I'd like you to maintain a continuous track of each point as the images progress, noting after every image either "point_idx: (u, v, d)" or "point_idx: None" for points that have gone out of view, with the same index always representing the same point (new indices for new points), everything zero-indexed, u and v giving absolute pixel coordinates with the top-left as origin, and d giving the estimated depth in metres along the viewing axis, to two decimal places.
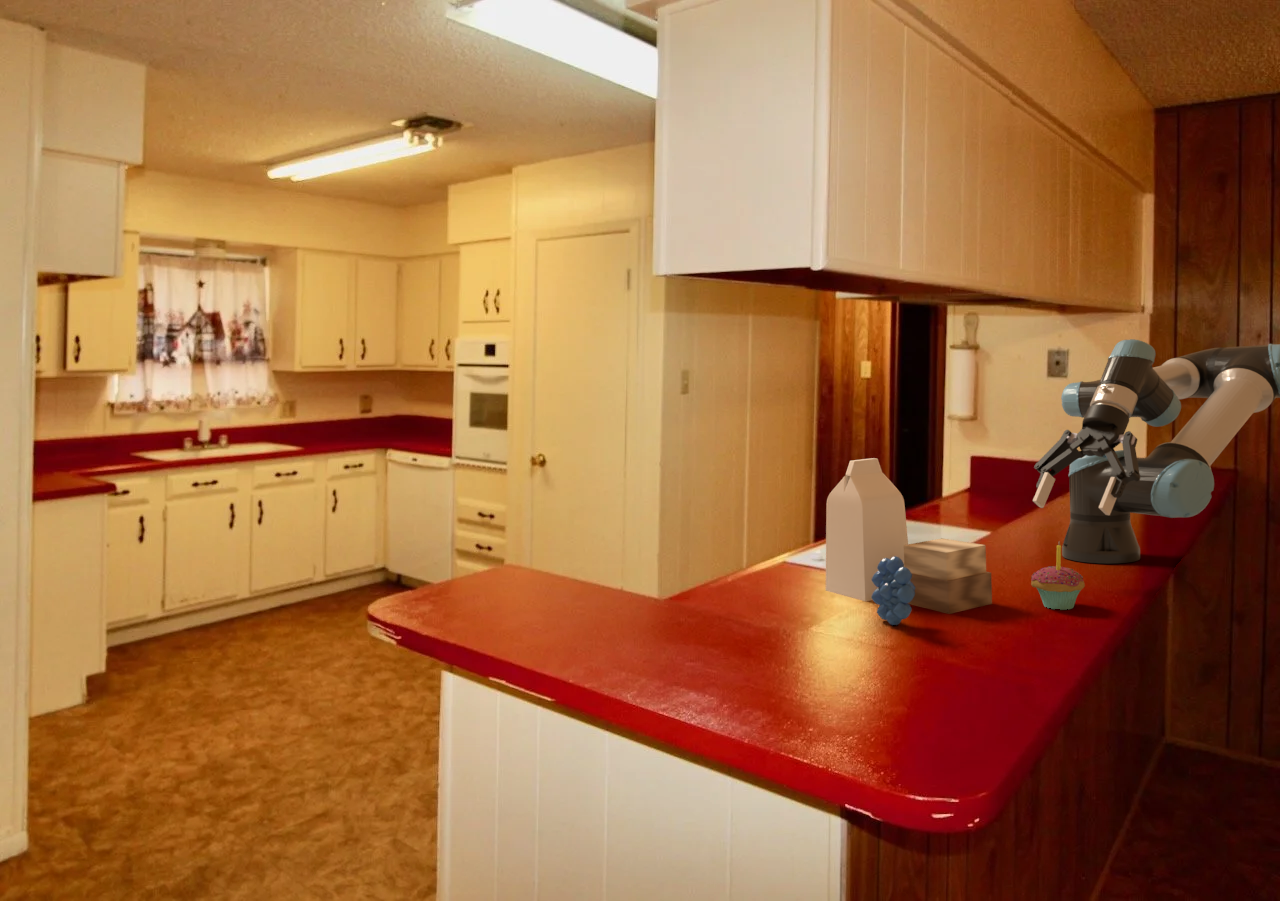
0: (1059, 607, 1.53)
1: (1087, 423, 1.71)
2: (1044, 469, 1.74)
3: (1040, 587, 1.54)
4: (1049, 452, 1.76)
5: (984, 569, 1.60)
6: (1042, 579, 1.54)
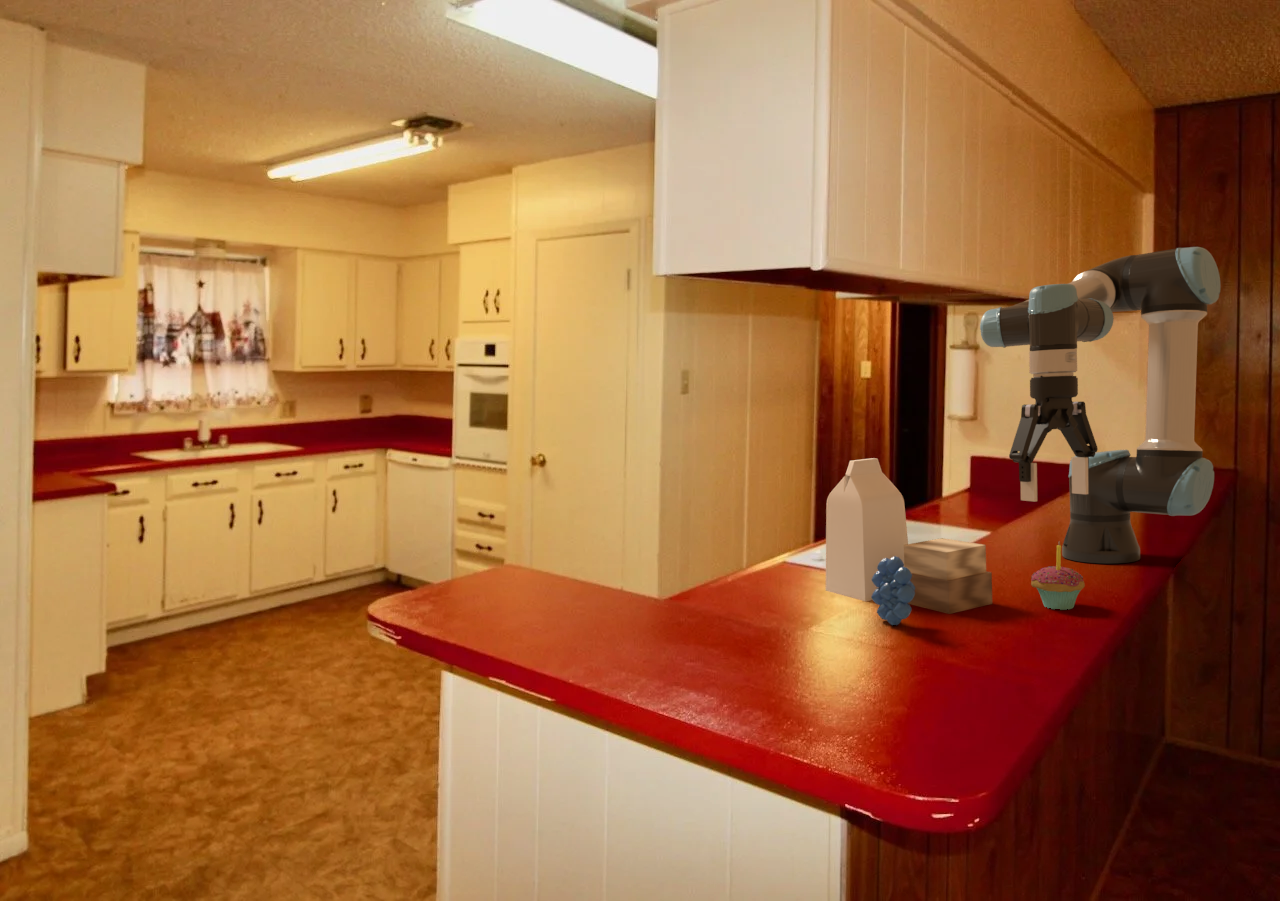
0: (1059, 607, 1.53)
1: (1058, 398, 1.51)
2: (1032, 459, 1.50)
3: (1040, 587, 1.54)
4: (1029, 436, 1.49)
5: (984, 569, 1.60)
6: (1042, 579, 1.54)
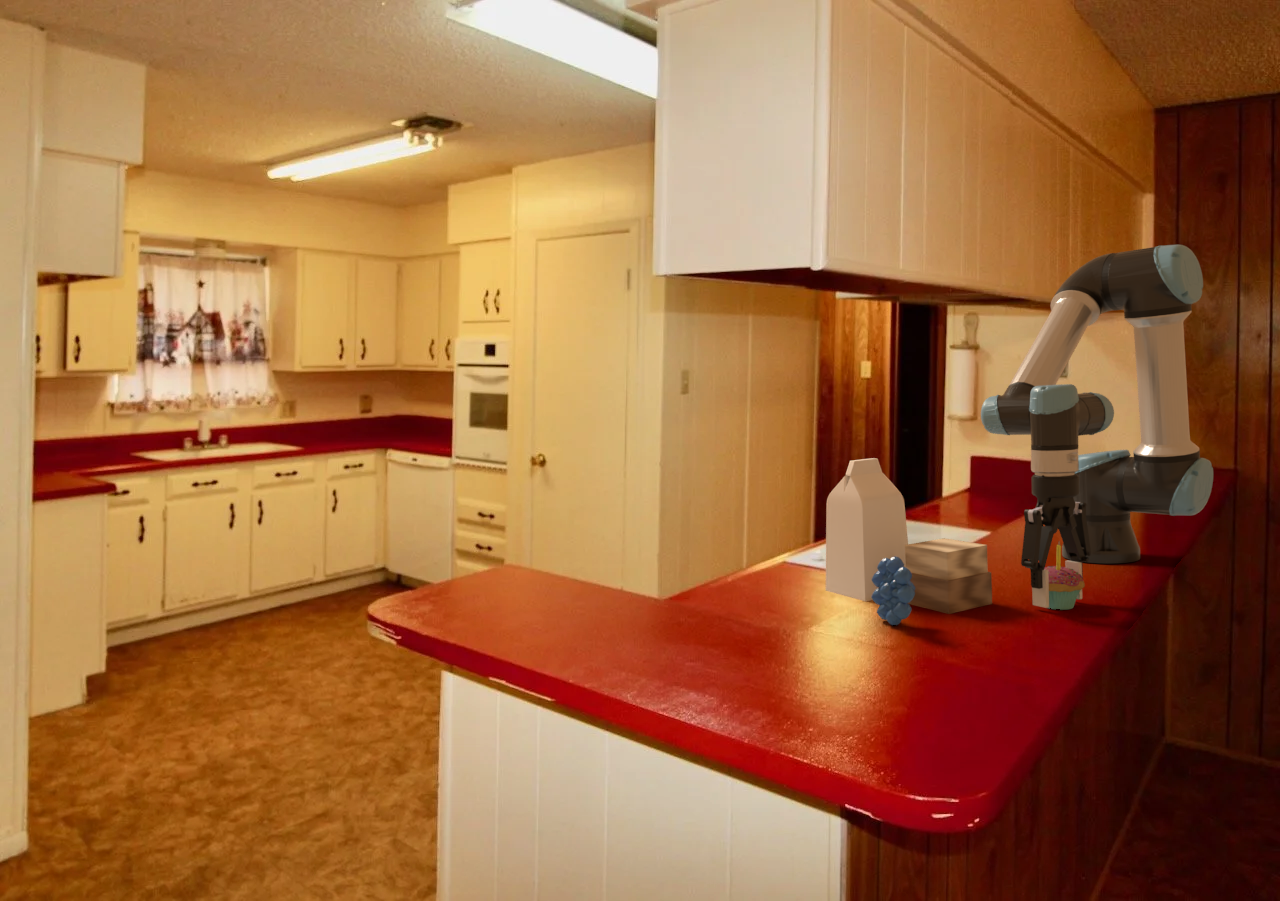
0: (1059, 607, 1.53)
1: (1060, 497, 1.52)
2: (1043, 566, 1.52)
3: None
4: (1037, 544, 1.51)
5: (985, 569, 1.59)
6: None
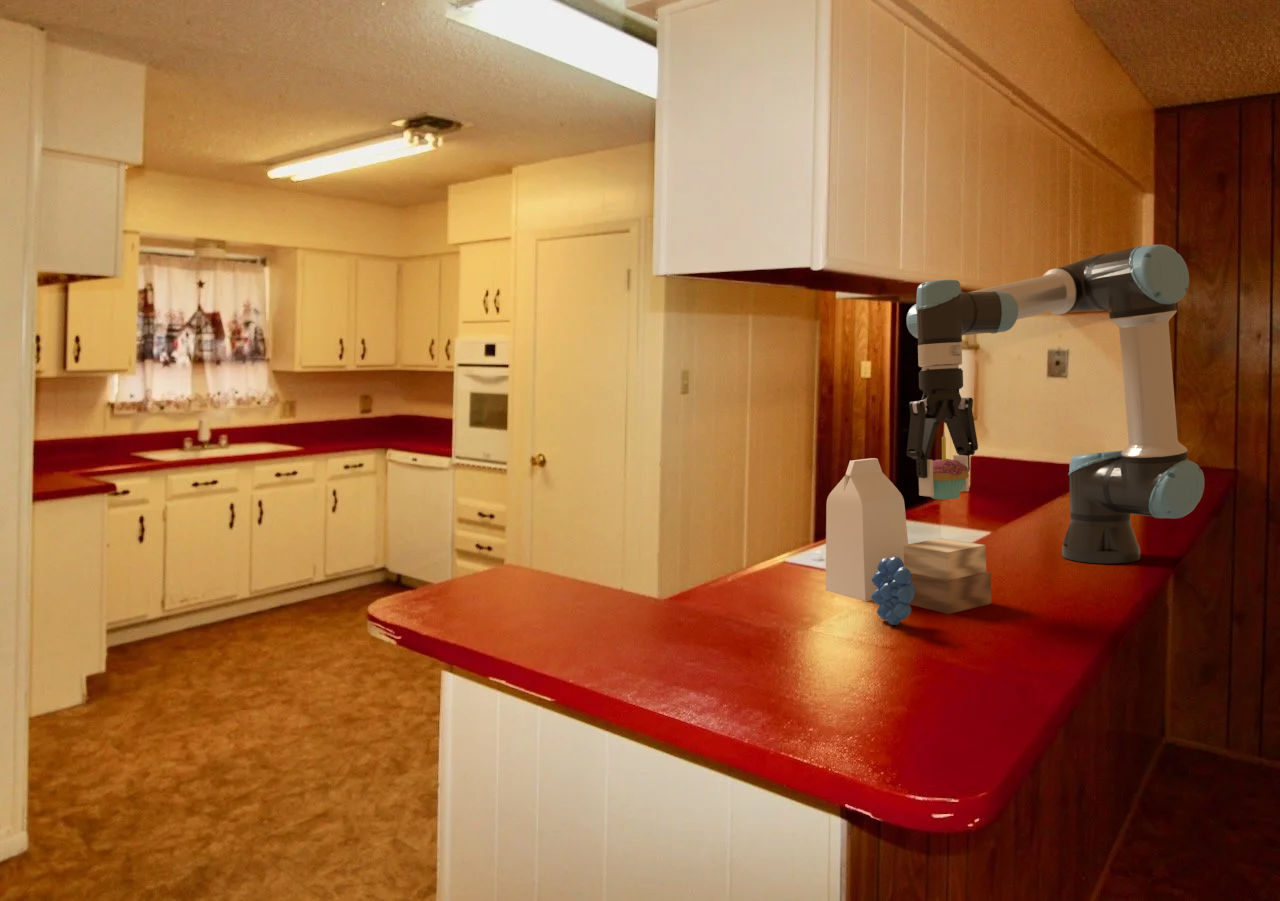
0: (944, 497, 1.58)
1: (943, 389, 1.57)
2: (927, 456, 1.57)
3: None
4: (920, 433, 1.56)
5: (984, 569, 1.60)
6: None
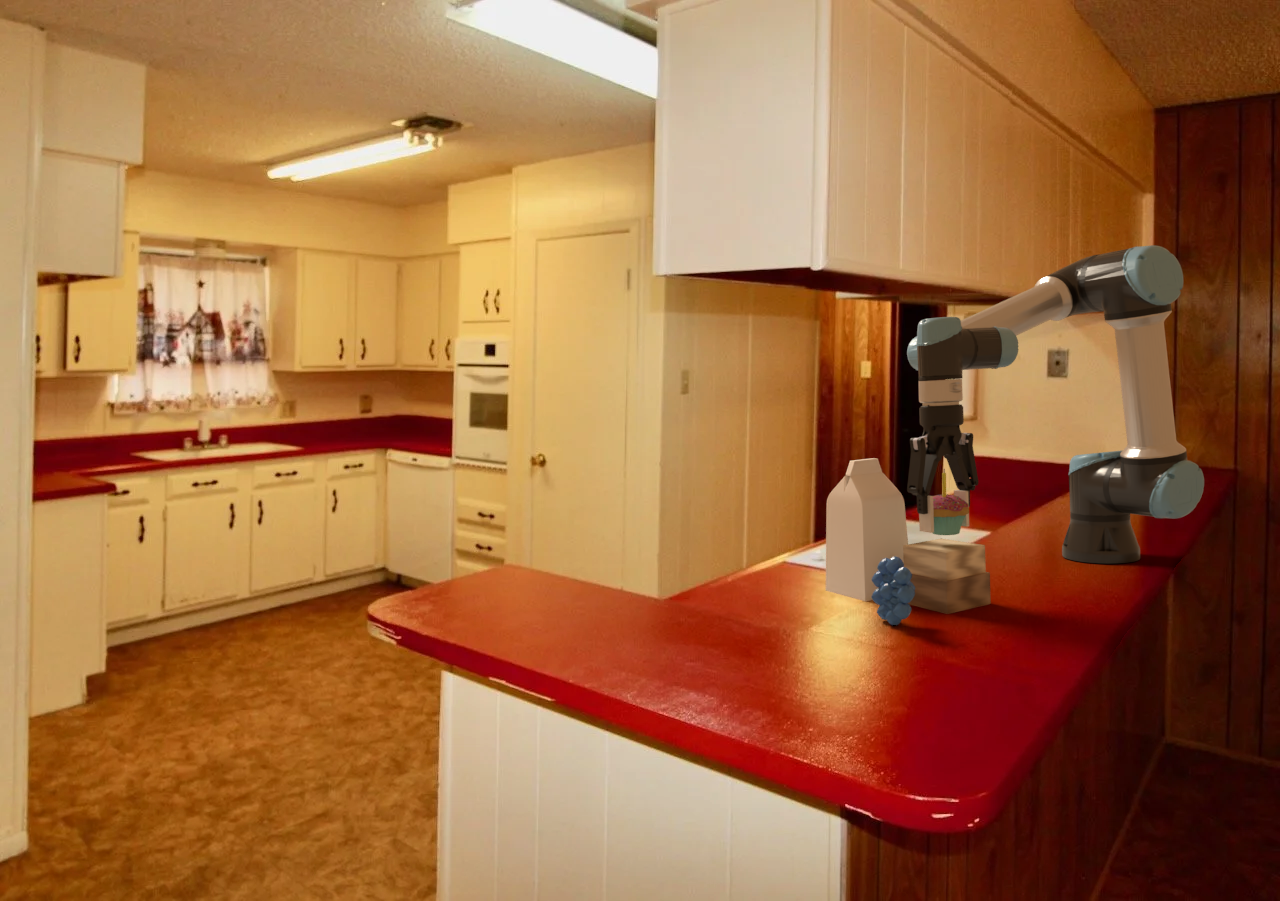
0: (944, 532, 1.59)
1: (944, 426, 1.57)
2: (928, 492, 1.57)
3: None
4: (921, 470, 1.56)
5: (983, 569, 1.60)
6: None
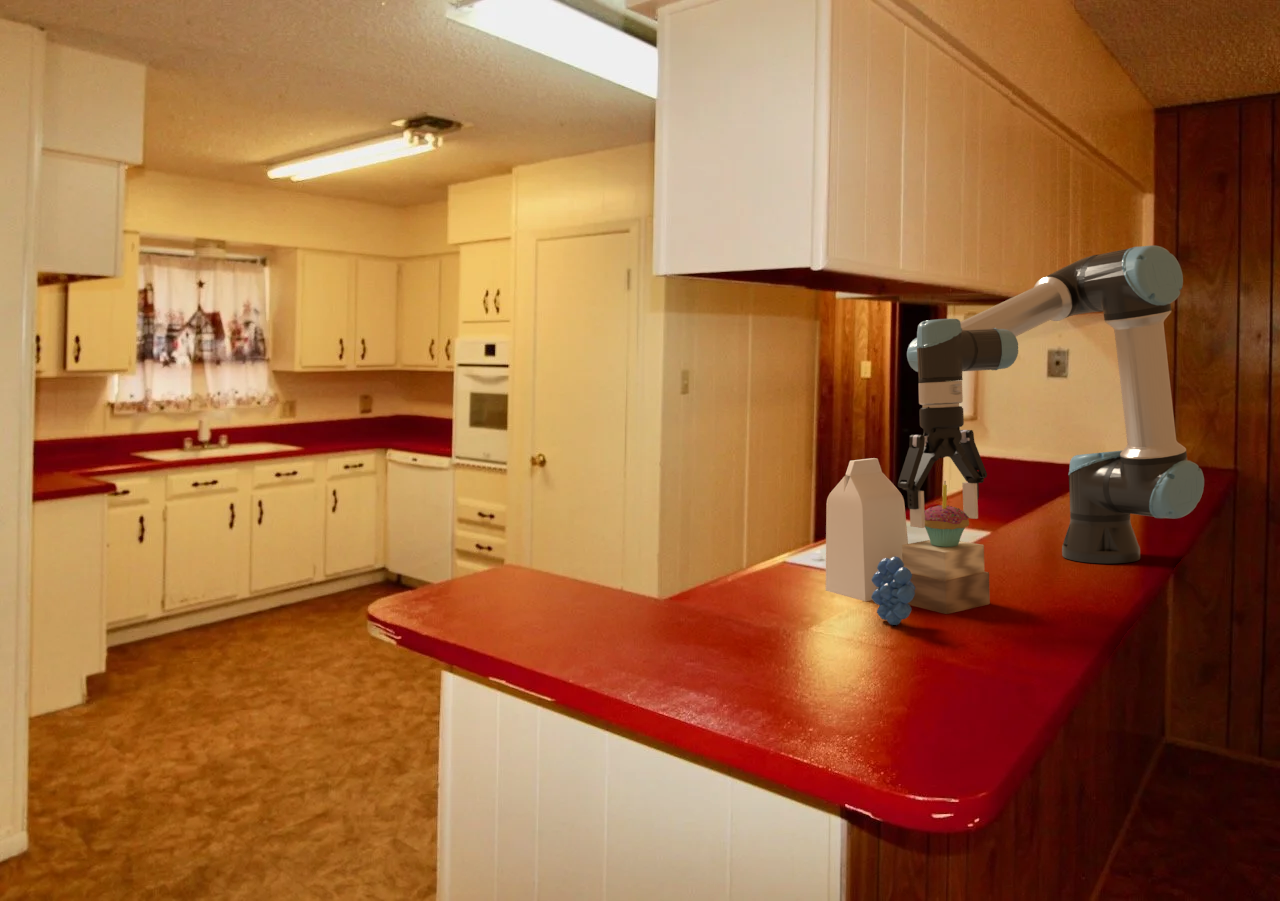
0: (942, 544, 1.59)
1: (944, 428, 1.57)
2: (918, 488, 1.56)
3: (925, 524, 1.60)
4: (915, 466, 1.56)
5: (982, 568, 1.60)
6: (927, 516, 1.59)
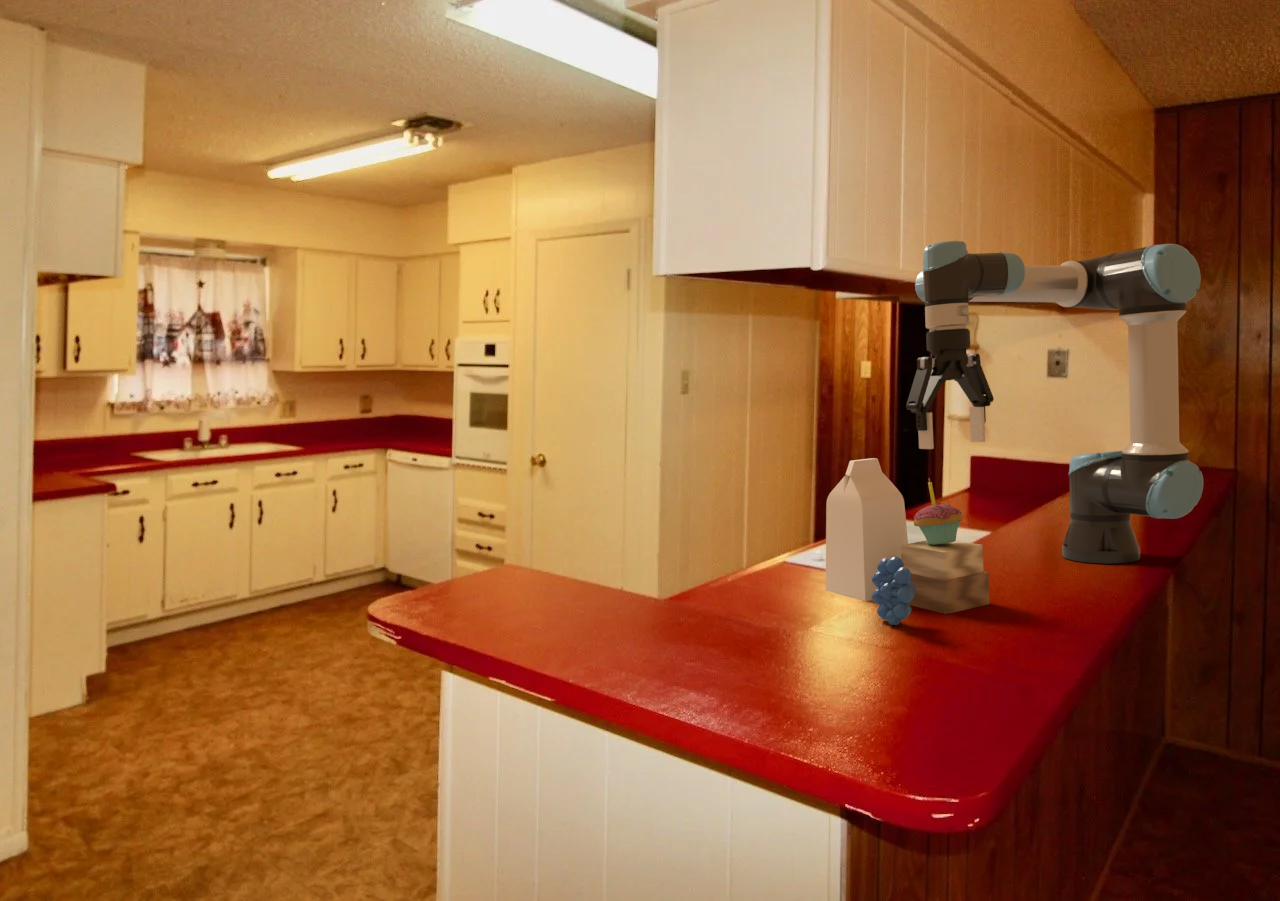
0: (937, 541, 1.59)
1: (951, 350, 1.59)
2: (927, 409, 1.57)
3: (917, 524, 1.61)
4: (923, 387, 1.57)
5: (981, 569, 1.60)
6: (918, 516, 1.61)
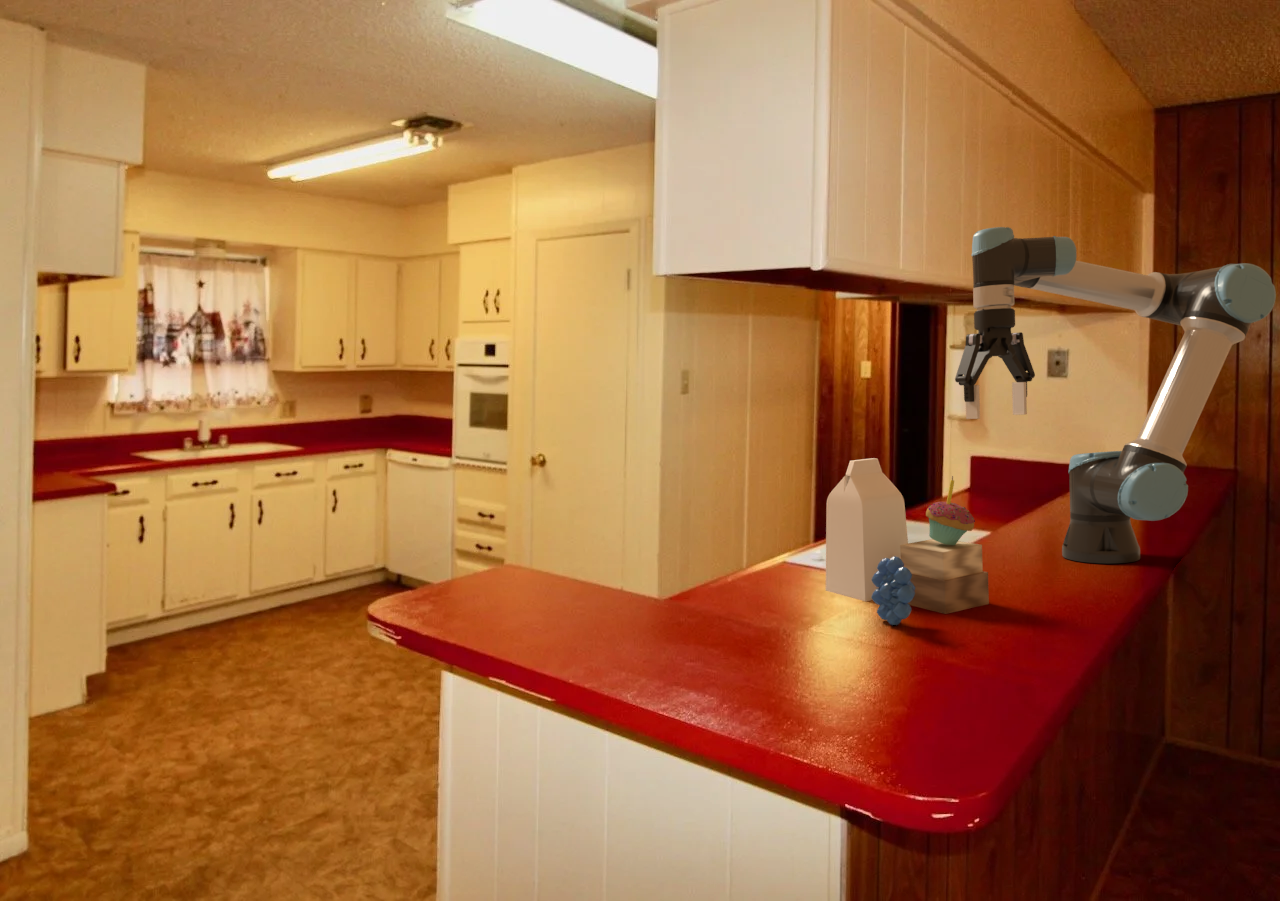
0: (929, 534, 1.61)
1: (997, 327, 1.72)
2: (974, 382, 1.71)
3: None
4: (972, 361, 1.70)
5: (980, 568, 1.60)
6: None
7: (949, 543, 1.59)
